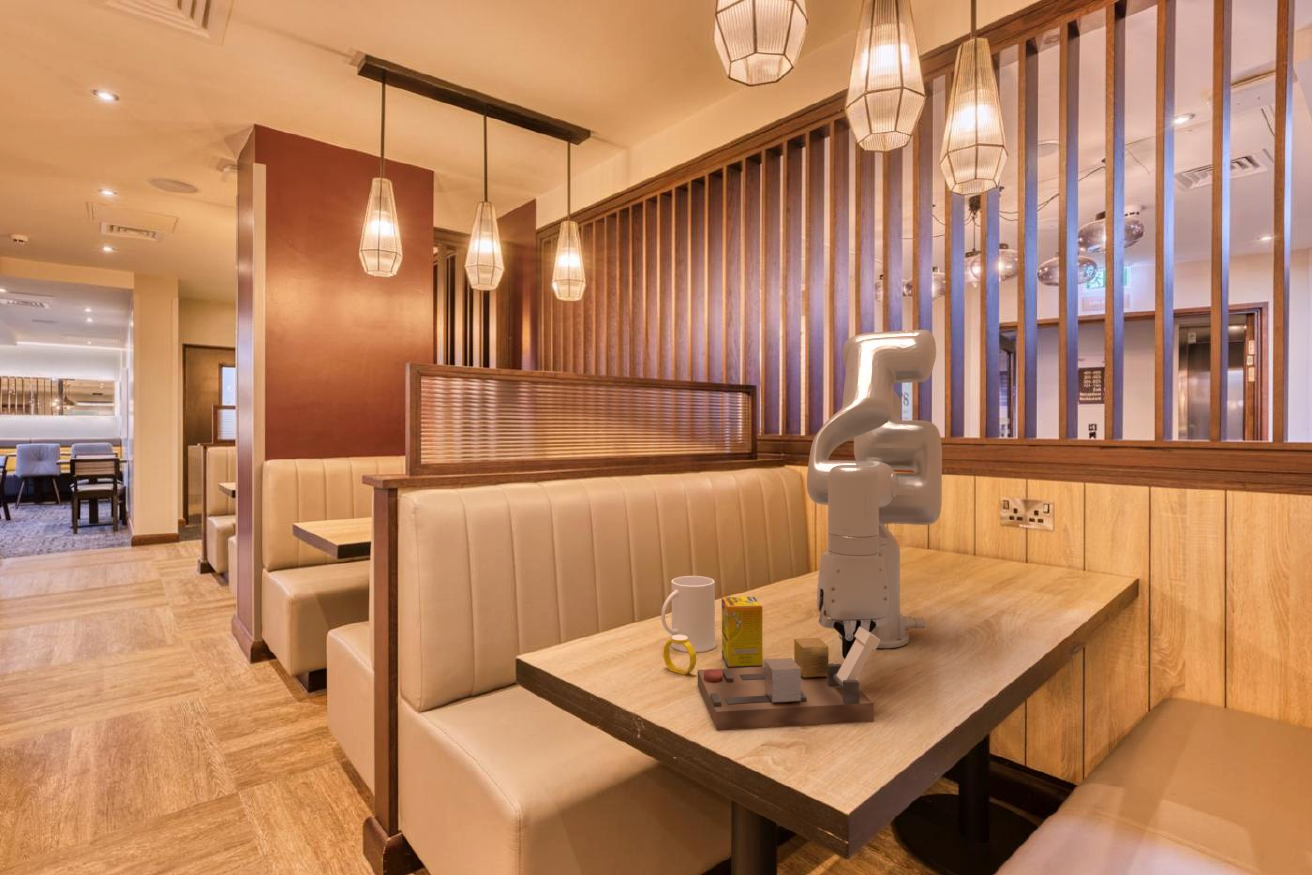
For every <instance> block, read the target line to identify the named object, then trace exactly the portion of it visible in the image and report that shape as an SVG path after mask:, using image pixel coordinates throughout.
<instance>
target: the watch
mask: <svg viewBox="0 0 1312 875" xmlns="http://www.w3.org/2000/svg"><path fill="white" fill-rule="evenodd" d="M672 642H673V643H675V644H683V645H684V646H685V647H686V649H687V651H688V652H687V653H688V656H689V666H688V668H687V670H686V669H682V668H679V667H676V665H675V664H674V663H673V661H672V658H671V655H670V650H671V649H670V648H671V644H672ZM662 658H663V660H664V664H665V665H666V667H667V668H668V669H669V671H670V672H672V673H676V674H679V675H682V676H685V675H688V674H690V673H691V672H693V671H694V669H695V667H696V663H697V653H696V652H695V650H694V648H693V646H692V644H691V643H690V642H689V641H688V637H687V636H685V635H673V636H672V635H671V638H670V639H669V640H667V641H666V642H665V645H664V646H663V652H662Z"/></svg>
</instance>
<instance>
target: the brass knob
mask: <svg viewBox="0 0 1312 875" xmlns="http://www.w3.org/2000/svg"><path fill="white" fill-rule="evenodd" d="M793 640H794V641H793V645H794V646H793V647H794V648H793V651H794V652H793V653H794V654H793V657H794V659H793V660H794V661H795V663H796V664H797V665H798V666H799V667H800V668H801V676H802V677H819V676H827V664H828V663H829V645H828V644H827V643H825V641H823V640H822V639H821V638H820V637H808V638H807V637H806V638H805V637H804V638H803V637H802V638H794V639H793Z"/></svg>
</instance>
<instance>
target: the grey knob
mask: <svg viewBox="0 0 1312 875" xmlns="http://www.w3.org/2000/svg"><path fill="white" fill-rule="evenodd" d="M763 667H764V682H765V692H766V693H767V695H768V696H769V698H770V699H771V701H772V702H789V701H801V668H800V667H799V666H798V665H797V664H796V663H795V661H794V659H793V658H792V657H788V658H787V657H786V658H784V657H783V658H766V659H764V665H763Z"/></svg>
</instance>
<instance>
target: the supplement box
mask: <svg viewBox="0 0 1312 875" xmlns="http://www.w3.org/2000/svg"><path fill="white" fill-rule="evenodd" d="M721 658H722V660H723V661H724V663H725V665H726V668H745V667H764V665H763V606H762V605H761V604H760V603H759V601H758V599H756V597H755V596H754V595H751V596H749V595H748V596H723V597H721Z"/></svg>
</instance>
